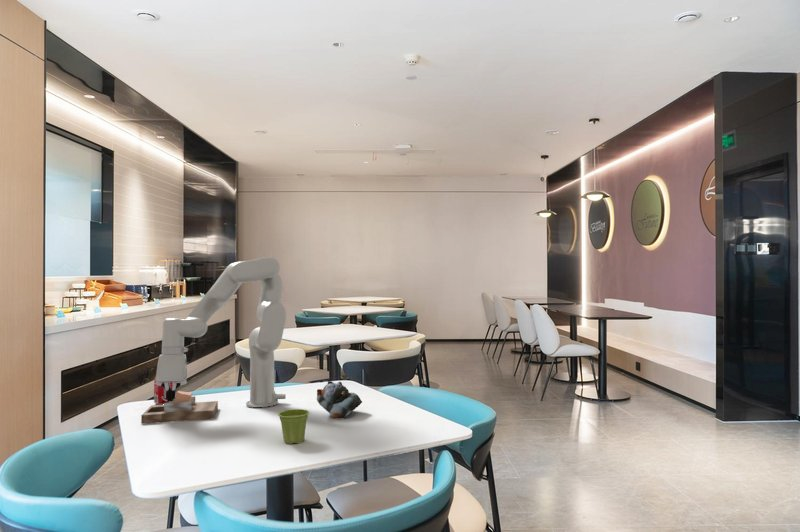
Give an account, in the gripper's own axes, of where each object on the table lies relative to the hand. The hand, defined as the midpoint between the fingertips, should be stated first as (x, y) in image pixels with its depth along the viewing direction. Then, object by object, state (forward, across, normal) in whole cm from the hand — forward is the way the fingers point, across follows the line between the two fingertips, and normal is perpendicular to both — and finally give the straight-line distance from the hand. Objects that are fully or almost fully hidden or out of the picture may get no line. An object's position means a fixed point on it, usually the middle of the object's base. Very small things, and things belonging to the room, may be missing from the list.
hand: (170, 400), depth 187 cm
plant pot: (+5, -43, +44) cm, 62 cm away
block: (+2, -4, 0) cm, 4 cm away
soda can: (+6, +7, -25) cm, 27 cm away
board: (+6, -4, 0) cm, 7 cm away
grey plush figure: (+4, -61, +16) cm, 63 cm away
